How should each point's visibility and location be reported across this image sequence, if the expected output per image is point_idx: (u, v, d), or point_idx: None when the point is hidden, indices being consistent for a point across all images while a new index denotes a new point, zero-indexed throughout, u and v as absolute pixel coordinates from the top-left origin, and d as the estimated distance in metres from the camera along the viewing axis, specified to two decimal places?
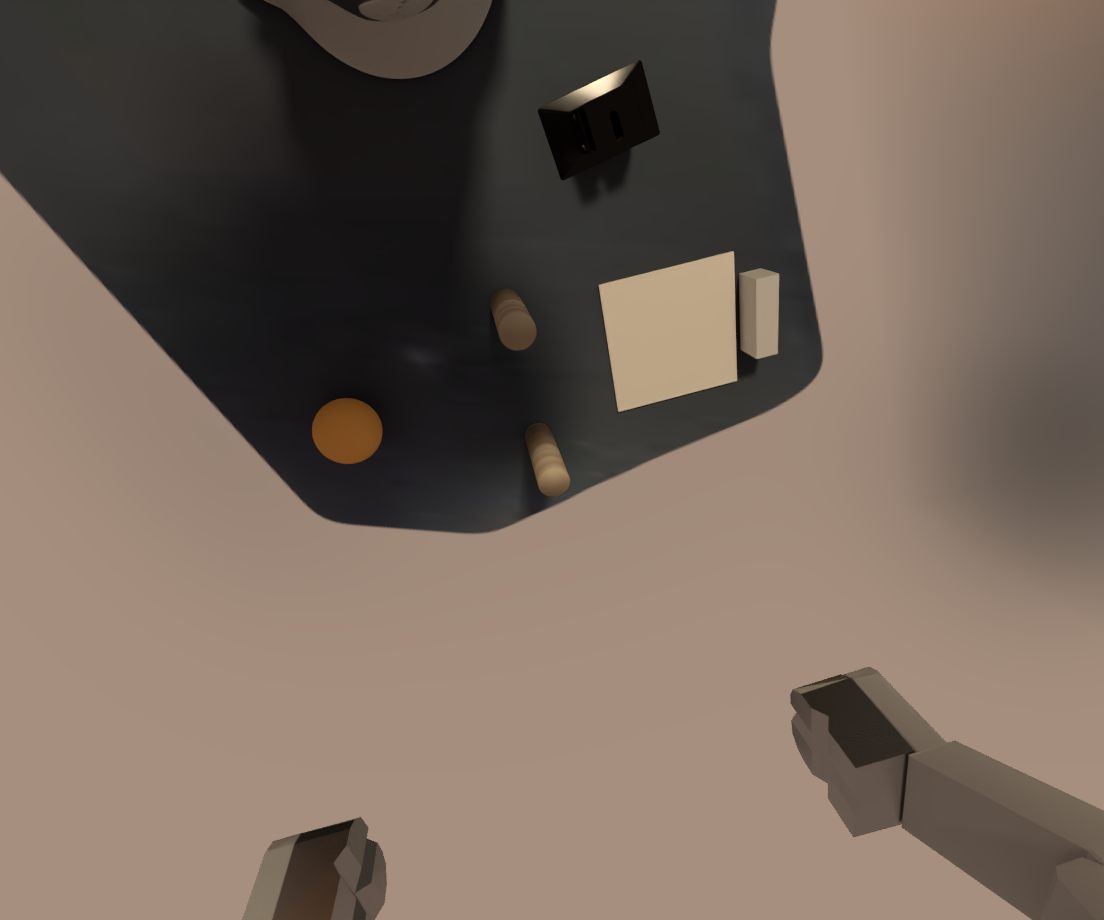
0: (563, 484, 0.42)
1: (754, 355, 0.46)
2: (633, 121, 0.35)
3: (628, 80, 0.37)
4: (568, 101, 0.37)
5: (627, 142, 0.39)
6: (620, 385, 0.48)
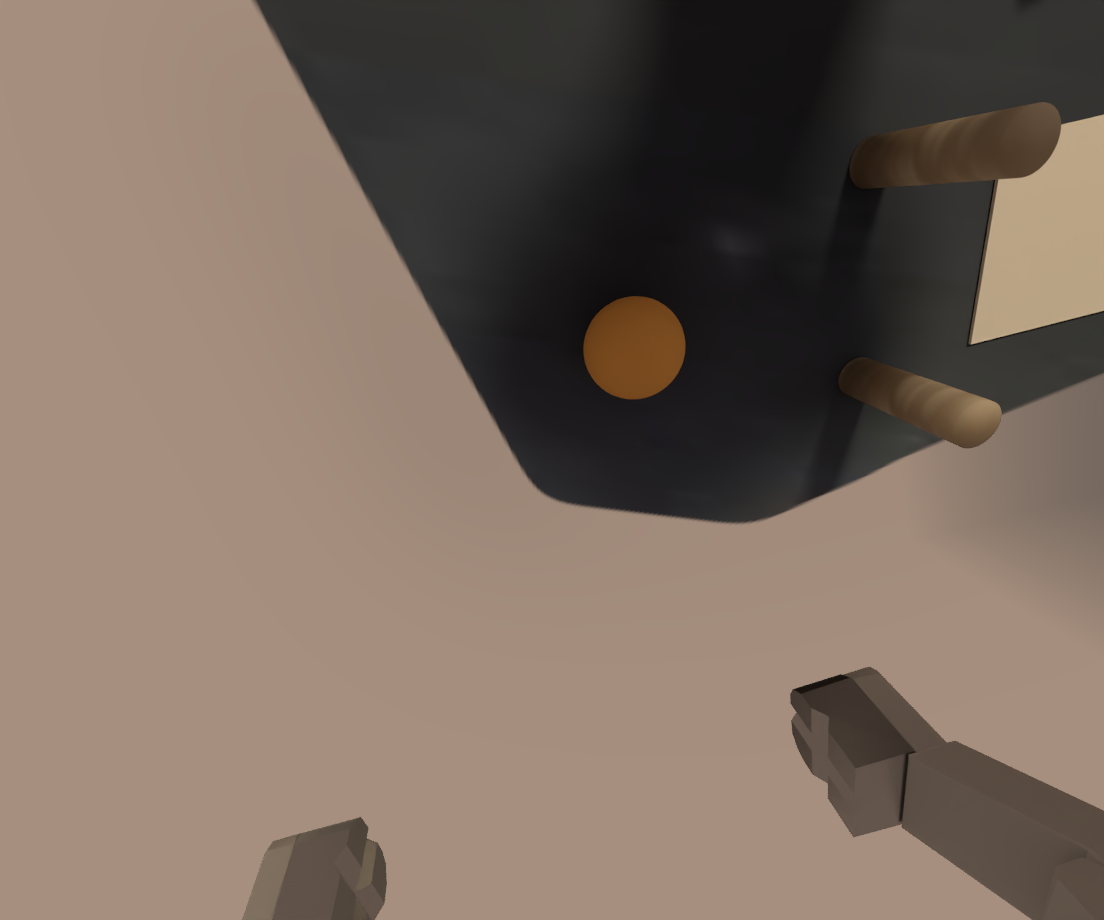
0: (988, 428, 0.27)
1: None
2: None
3: None
4: None
5: None
6: (985, 302, 0.33)
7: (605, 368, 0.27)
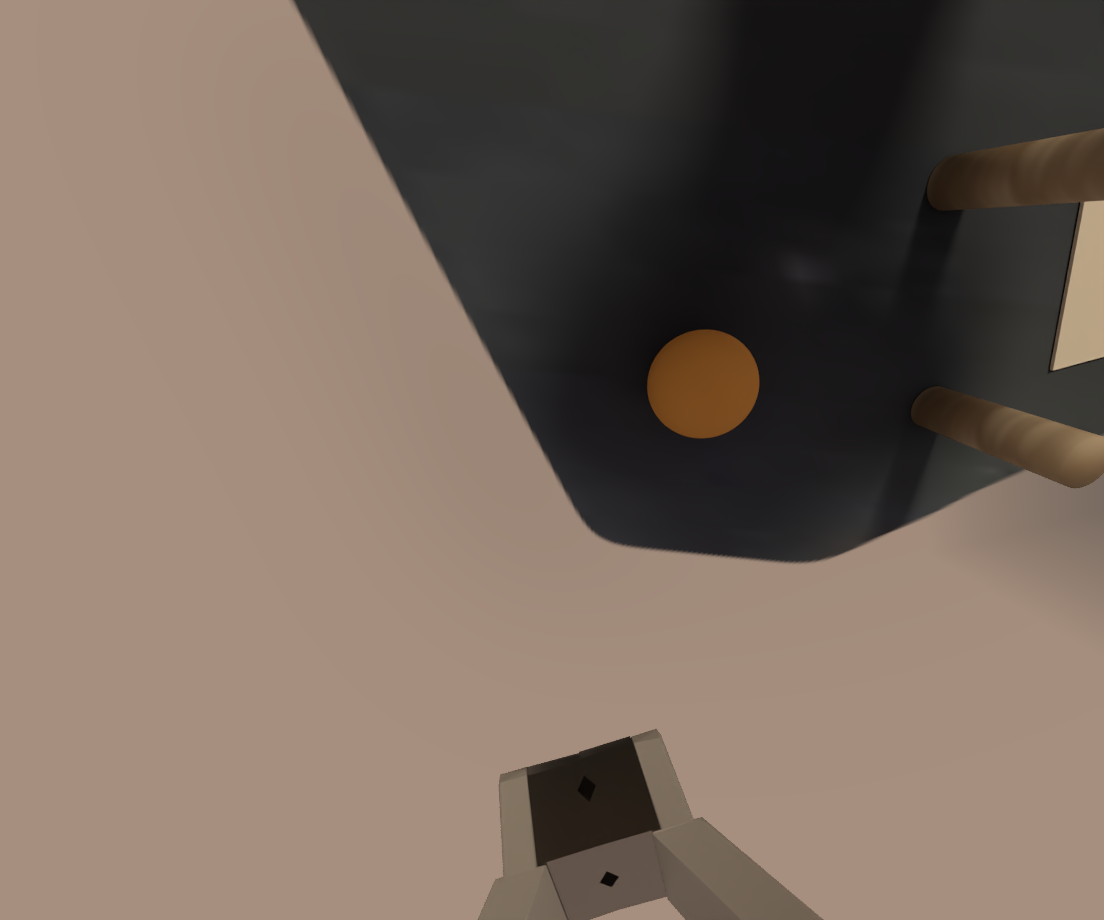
0: (1099, 466, 0.24)
1: None
2: None
3: None
4: None
5: None
6: (1069, 326, 0.31)
7: (675, 407, 0.25)
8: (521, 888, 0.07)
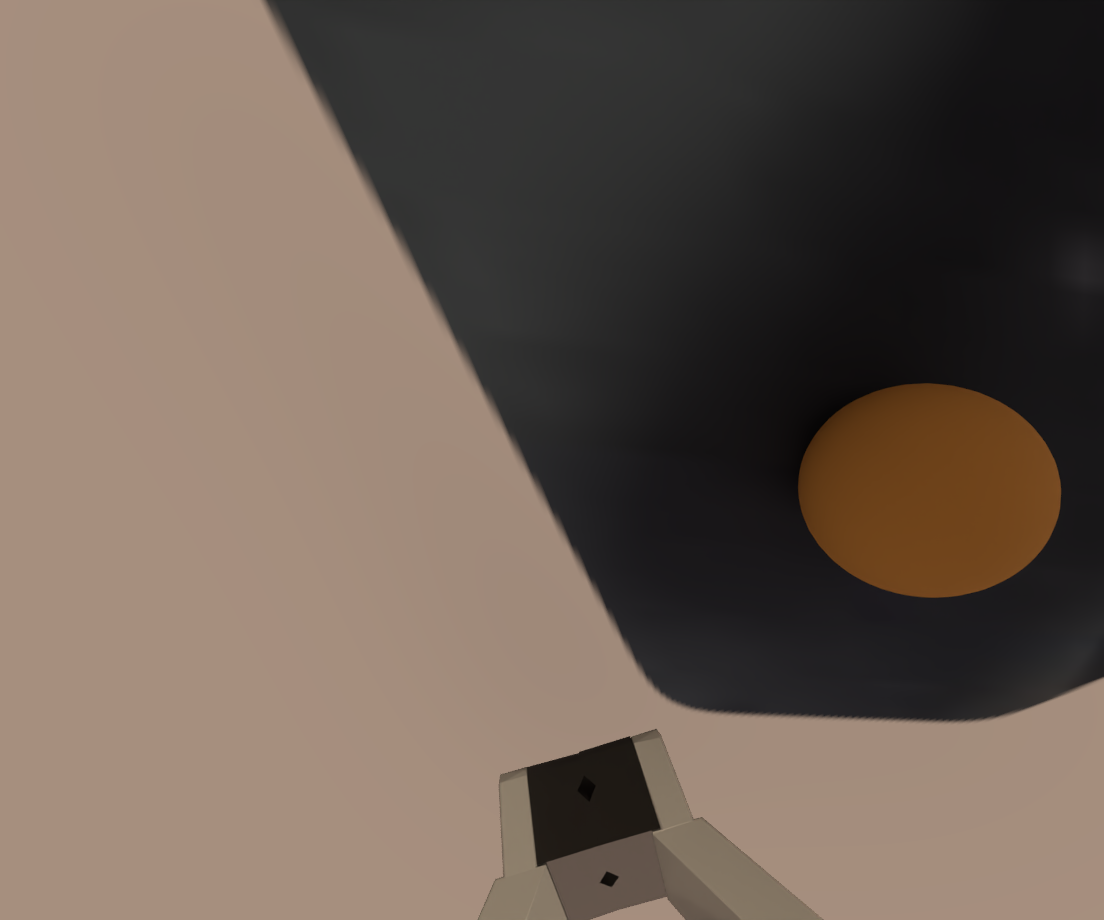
0: None
1: None
2: None
3: None
4: None
5: None
6: None
7: (888, 551, 0.12)
8: (521, 888, 0.07)
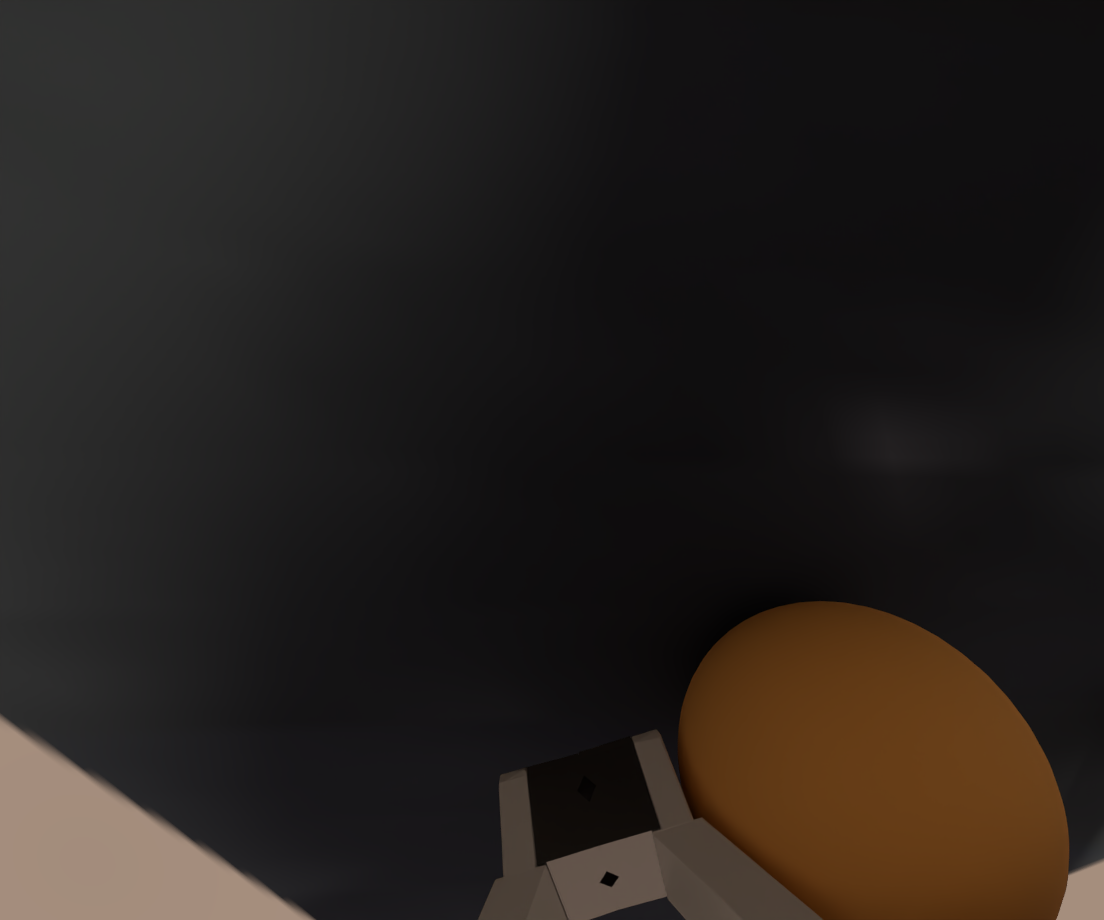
0: None
1: None
2: None
3: None
4: None
5: None
6: None
7: None
8: (521, 888, 0.07)
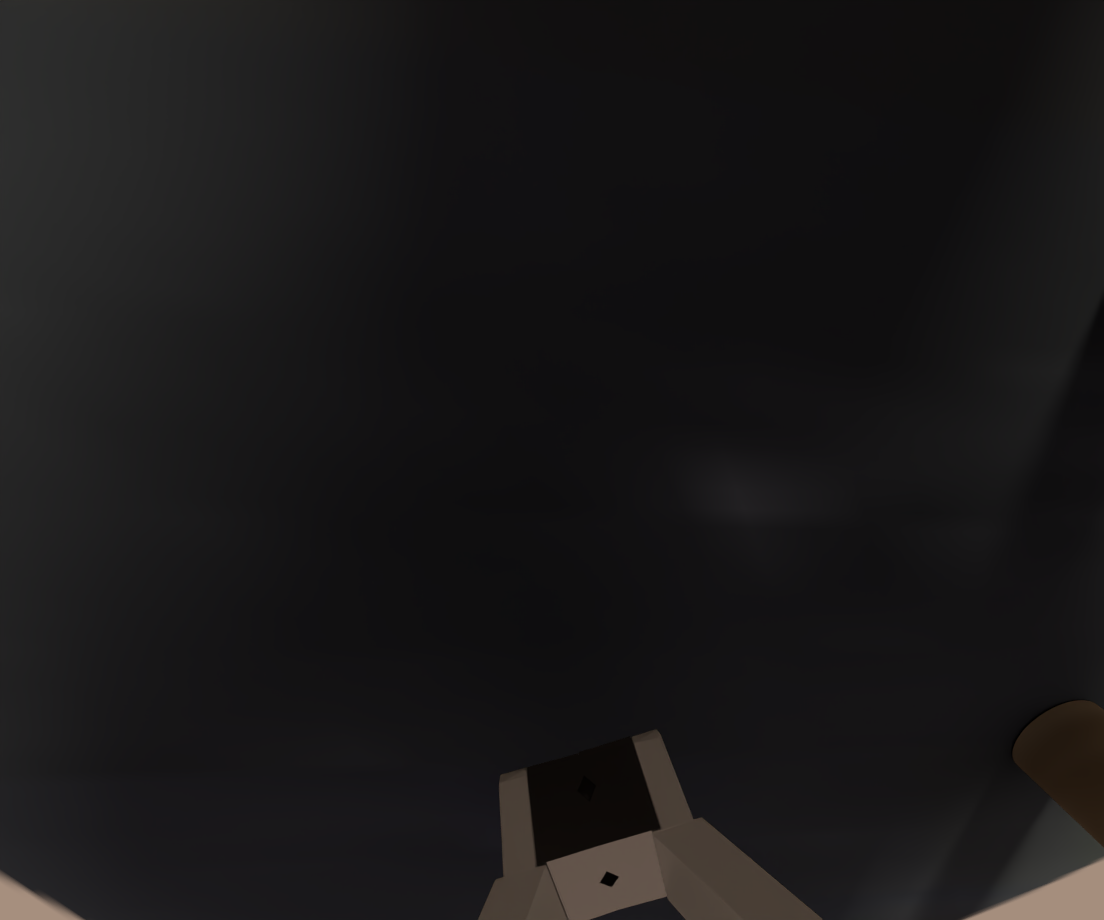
0: None
1: None
2: None
3: None
4: None
5: None
6: None
7: None
8: (521, 888, 0.07)
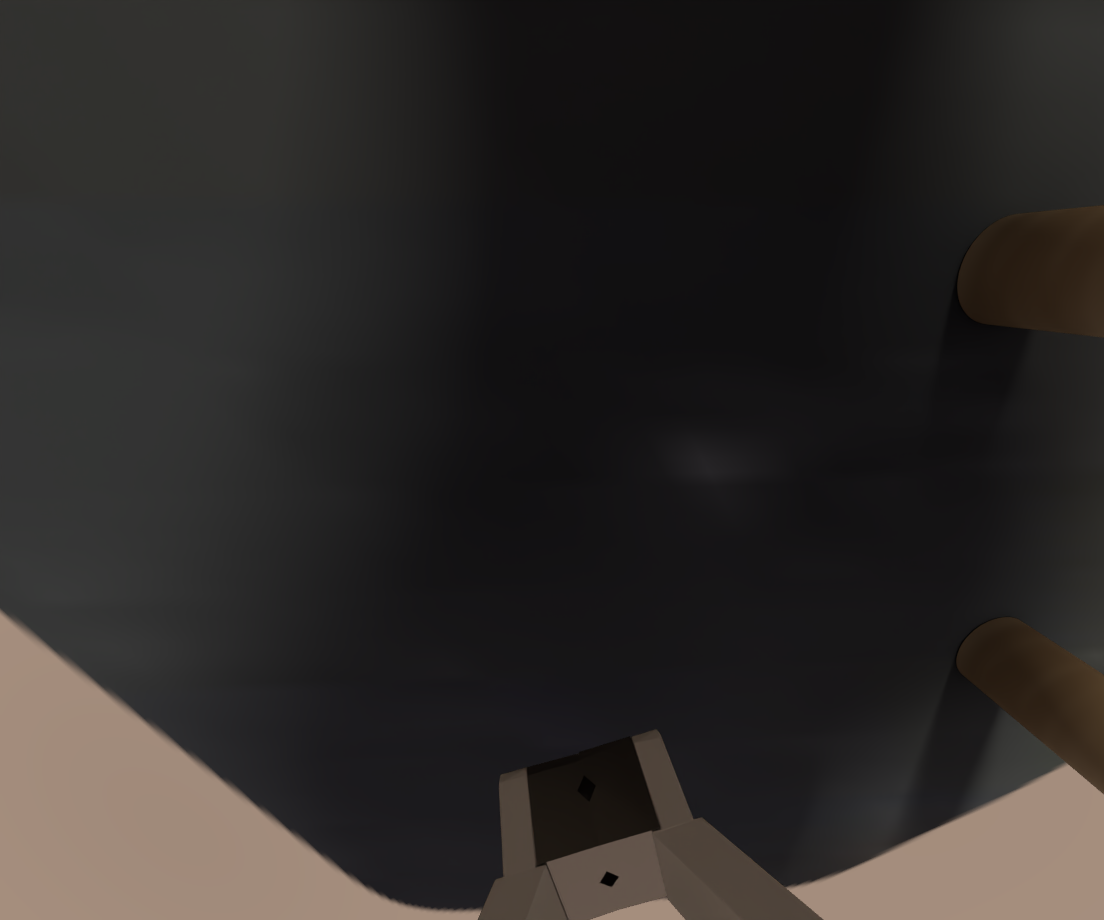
0: None
1: None
2: None
3: None
4: None
5: None
6: None
7: None
8: (521, 888, 0.07)
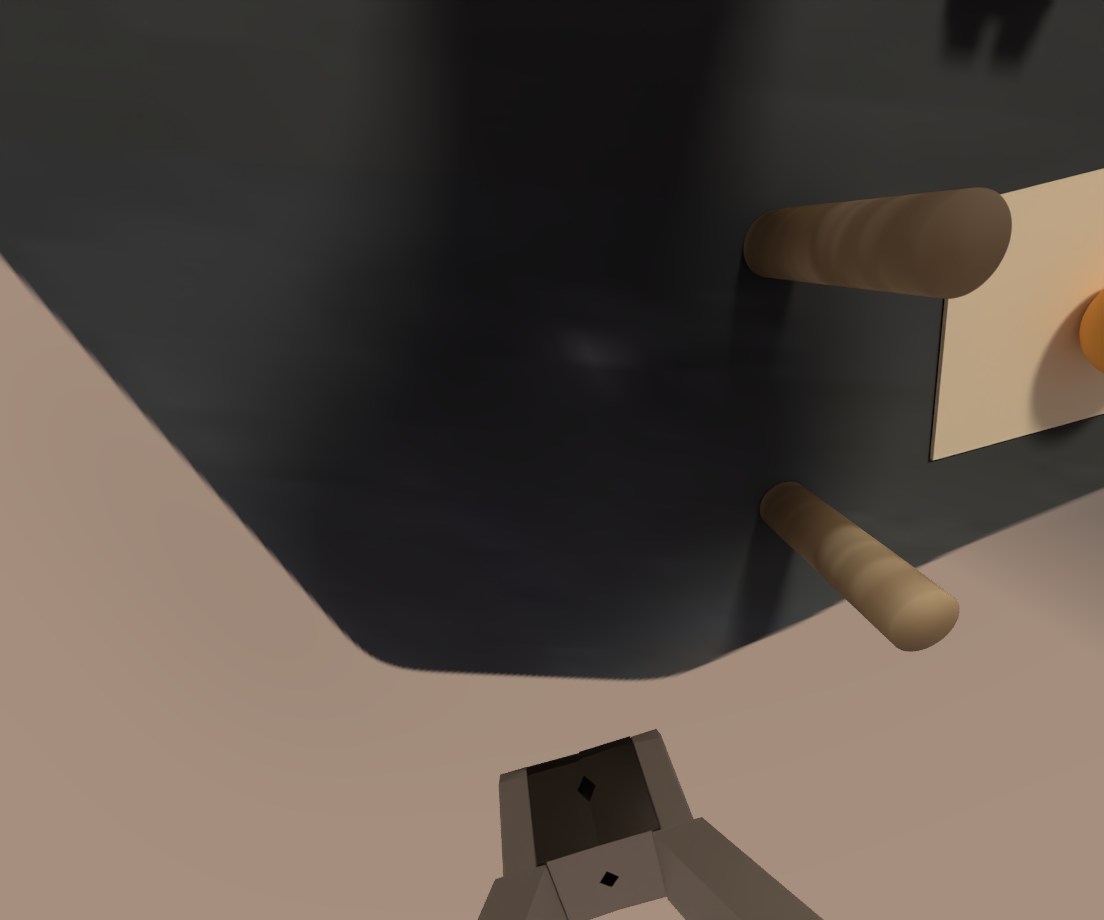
0: (942, 625, 0.18)
1: None
2: None
3: None
4: None
5: None
6: (948, 409, 0.25)
7: (1080, 335, 0.24)
8: (521, 888, 0.07)
